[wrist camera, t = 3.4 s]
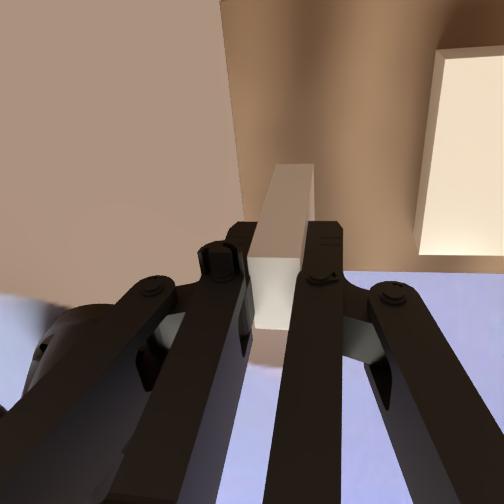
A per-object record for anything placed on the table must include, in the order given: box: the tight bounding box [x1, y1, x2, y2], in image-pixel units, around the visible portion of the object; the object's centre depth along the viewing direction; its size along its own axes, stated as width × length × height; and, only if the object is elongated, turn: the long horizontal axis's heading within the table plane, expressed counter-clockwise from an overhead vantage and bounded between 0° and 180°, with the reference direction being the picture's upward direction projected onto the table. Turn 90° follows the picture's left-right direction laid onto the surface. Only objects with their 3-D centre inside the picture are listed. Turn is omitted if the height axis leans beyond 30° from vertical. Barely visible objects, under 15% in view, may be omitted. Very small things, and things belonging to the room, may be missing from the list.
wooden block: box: [220, 0, 504, 274], centre depth 23 cm, size 20×14×4 cm
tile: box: [413, 45, 504, 256], centre depth 20 cm, size 6×9×2 cm, turn 5°
